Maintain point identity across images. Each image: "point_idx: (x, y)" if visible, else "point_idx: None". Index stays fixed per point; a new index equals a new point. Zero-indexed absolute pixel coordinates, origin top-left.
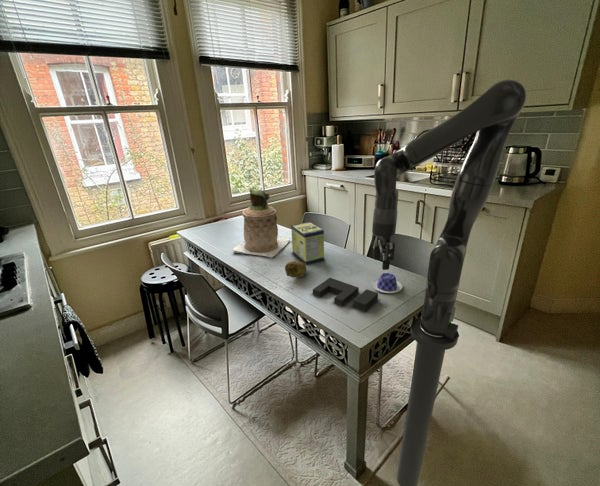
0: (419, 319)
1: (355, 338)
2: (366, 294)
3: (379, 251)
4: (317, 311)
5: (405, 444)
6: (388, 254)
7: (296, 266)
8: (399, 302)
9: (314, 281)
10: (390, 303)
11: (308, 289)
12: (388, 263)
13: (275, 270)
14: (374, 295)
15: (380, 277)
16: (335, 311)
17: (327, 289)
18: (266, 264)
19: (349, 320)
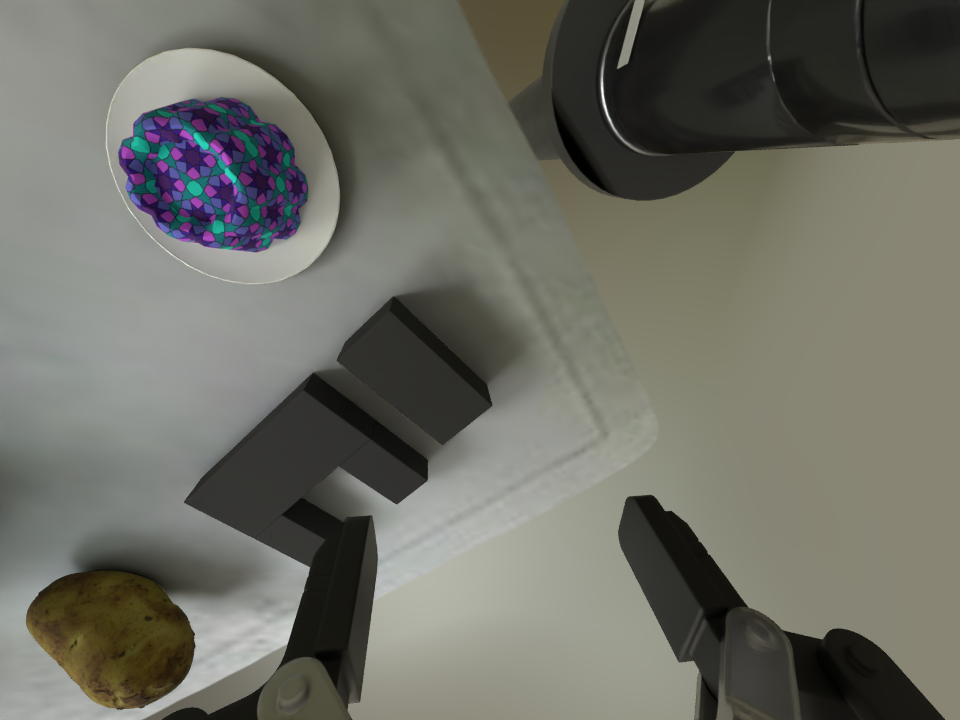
0: (568, 111)
1: (631, 451)
2: (395, 376)
3: (357, 621)
4: (447, 536)
5: None
6: (742, 701)
7: (148, 675)
8: (437, 178)
9: (194, 534)
10: (439, 238)
11: (276, 556)
12: (719, 581)
13: None
14: (413, 339)
15: (193, 240)
16: (459, 485)
17: (295, 506)
18: (38, 683)
19: (529, 450)
